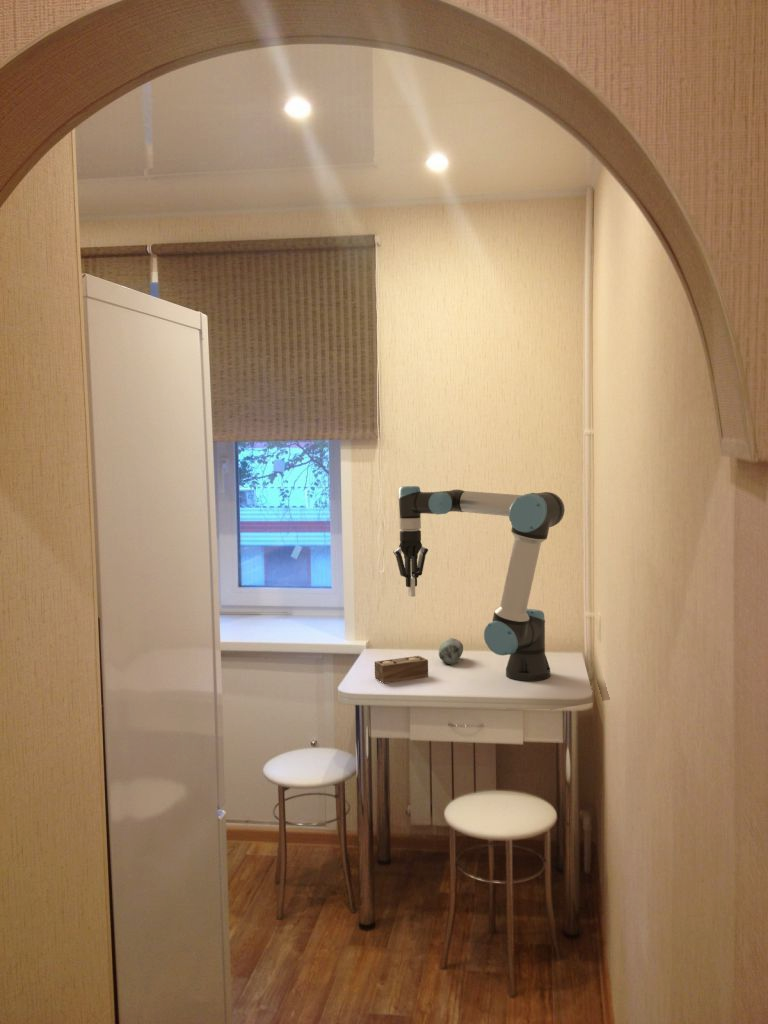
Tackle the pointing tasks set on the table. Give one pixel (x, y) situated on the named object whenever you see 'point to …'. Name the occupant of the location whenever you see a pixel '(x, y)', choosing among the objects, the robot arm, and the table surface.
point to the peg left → (387, 662)
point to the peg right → (414, 659)
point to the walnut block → (401, 669)
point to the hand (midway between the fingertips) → (411, 595)
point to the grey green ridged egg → (451, 651)
